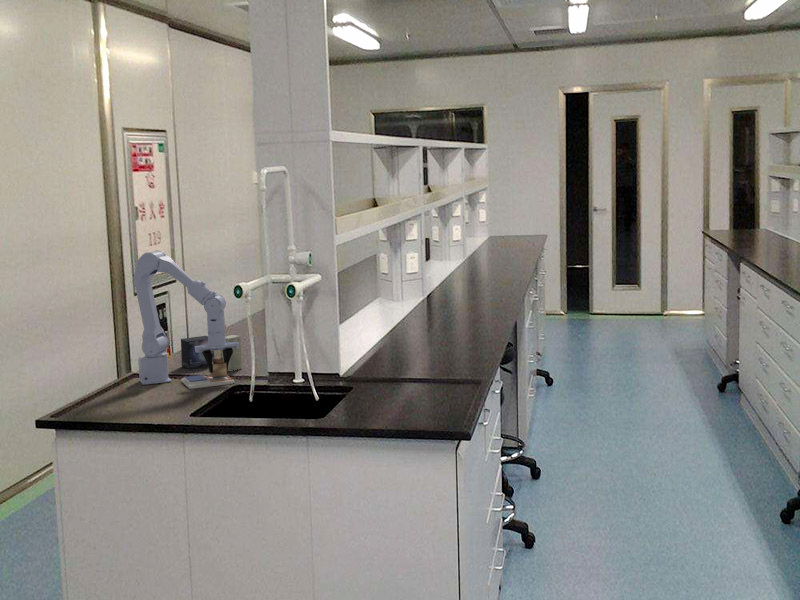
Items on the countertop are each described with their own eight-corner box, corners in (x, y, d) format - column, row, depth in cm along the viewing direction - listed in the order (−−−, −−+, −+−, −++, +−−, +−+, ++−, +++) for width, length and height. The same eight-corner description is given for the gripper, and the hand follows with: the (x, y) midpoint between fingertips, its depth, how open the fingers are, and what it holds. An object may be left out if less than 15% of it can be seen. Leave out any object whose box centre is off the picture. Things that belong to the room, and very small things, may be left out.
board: (189, 388, 279) (189, 382, 278) (181, 381, 289) (181, 375, 289) (234, 383, 285) (234, 377, 285) (225, 376, 296) (225, 370, 296)
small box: (189, 369, 309) (187, 341, 307) (181, 366, 314) (179, 338, 312) (215, 365, 315) (214, 337, 314) (207, 362, 320) (206, 335, 319)
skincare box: (234, 367, 311) (233, 334, 309) (242, 368, 308) (241, 335, 306) (220, 370, 306) (219, 337, 304) (228, 372, 303) (227, 338, 302)
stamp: (213, 378, 286) (213, 360, 285) (210, 375, 290) (209, 357, 289) (226, 376, 288) (226, 358, 287) (223, 374, 292) (222, 356, 291)
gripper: (197, 335, 280) (199, 376, 282) (240, 331, 286) (242, 371, 288) (192, 332, 286) (194, 372, 288) (235, 328, 293) (237, 367, 294)
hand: (218, 371), depth 288 cm, fingers closed on stamp, 4 cm apart
